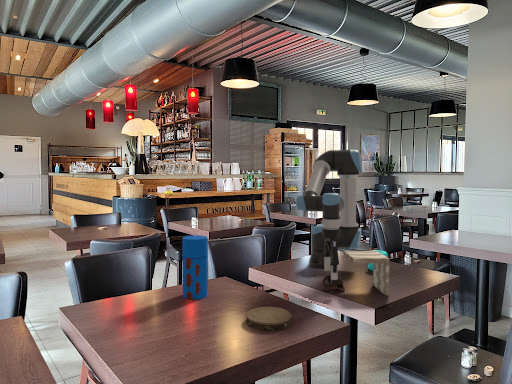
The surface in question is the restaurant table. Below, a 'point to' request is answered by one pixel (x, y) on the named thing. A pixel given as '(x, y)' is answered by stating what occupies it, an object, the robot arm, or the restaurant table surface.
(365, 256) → the counter
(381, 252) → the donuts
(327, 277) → the brown arched shell
